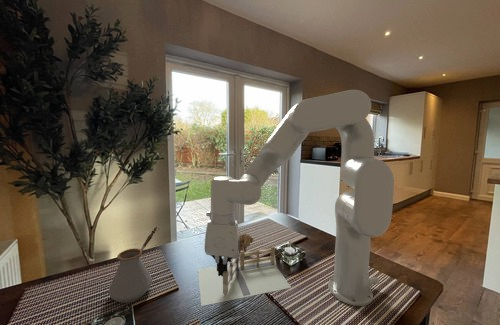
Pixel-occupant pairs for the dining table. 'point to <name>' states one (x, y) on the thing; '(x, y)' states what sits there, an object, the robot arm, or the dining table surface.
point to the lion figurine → (244, 241)
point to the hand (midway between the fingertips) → (222, 273)
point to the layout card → (240, 282)
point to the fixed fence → (271, 258)
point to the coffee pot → (131, 275)
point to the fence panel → (230, 271)
